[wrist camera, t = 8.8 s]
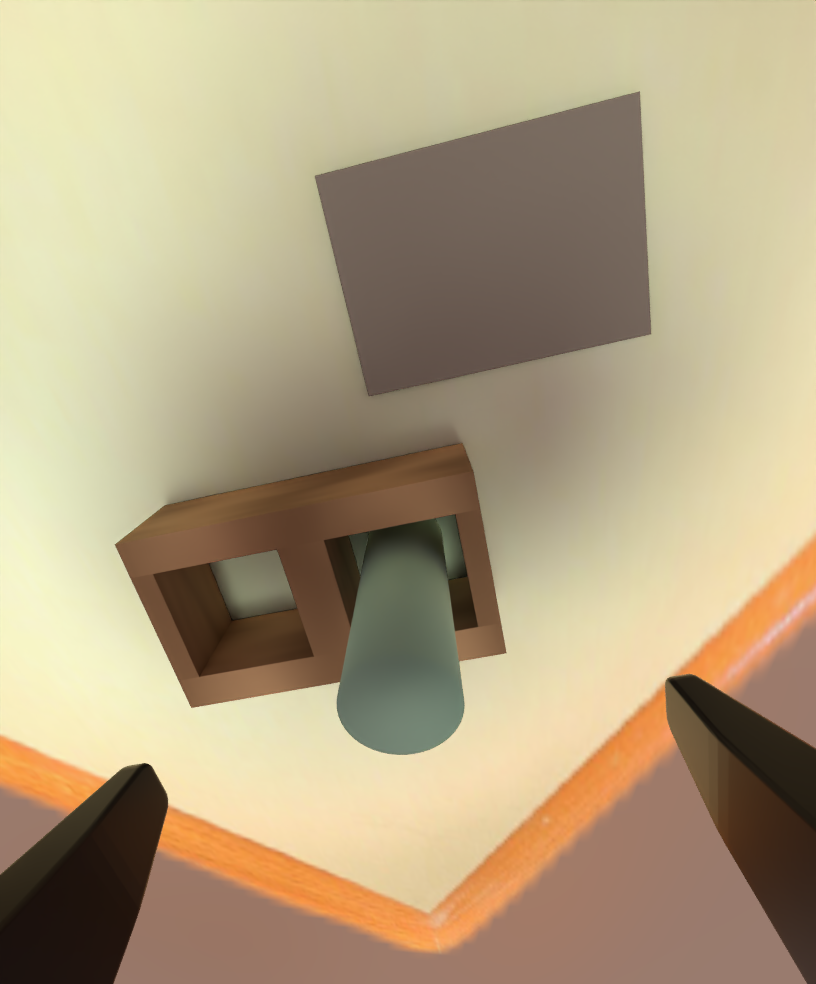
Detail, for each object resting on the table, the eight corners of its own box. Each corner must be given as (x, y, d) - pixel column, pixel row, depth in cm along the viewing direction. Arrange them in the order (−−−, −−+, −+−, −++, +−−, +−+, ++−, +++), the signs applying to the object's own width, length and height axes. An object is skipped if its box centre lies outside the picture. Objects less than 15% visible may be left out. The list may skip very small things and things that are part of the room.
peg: (434, 498, 19) (451, 643, 11) (448, 564, 20) (474, 743, 12) (360, 513, 20) (321, 666, 11) (377, 578, 21) (354, 763, 12)
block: (462, 443, 19) (473, 471, 15) (491, 599, 21) (506, 653, 18) (164, 505, 20) (114, 544, 16) (224, 648, 22) (191, 707, 19)
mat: (635, 95, 15) (639, 91, 15) (647, 333, 17) (651, 334, 17) (316, 178, 16) (314, 176, 15) (369, 395, 18) (368, 396, 18)
